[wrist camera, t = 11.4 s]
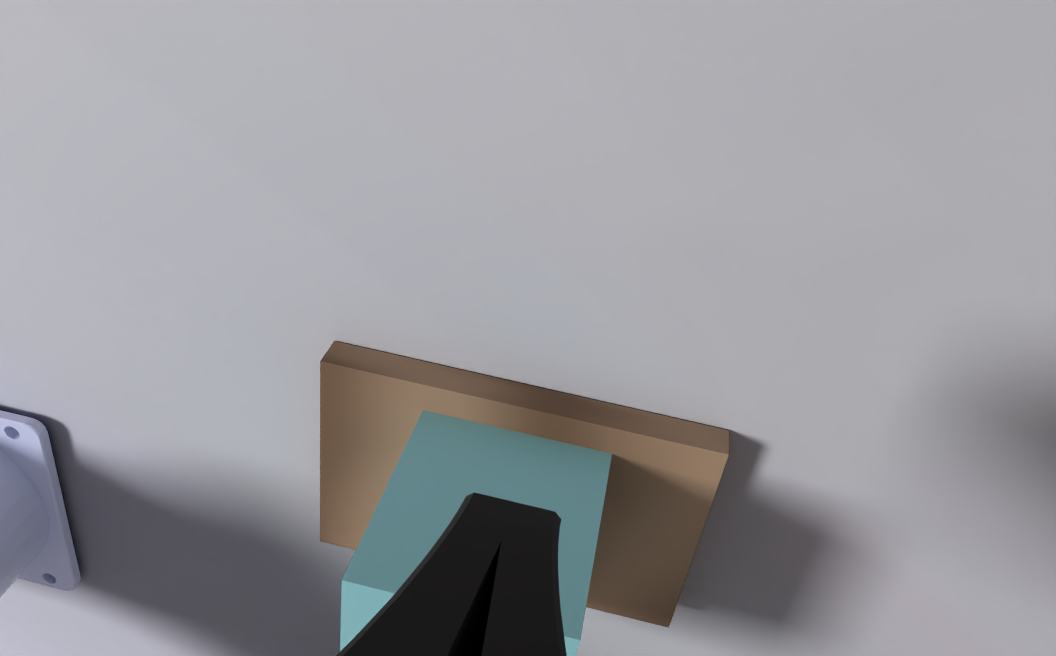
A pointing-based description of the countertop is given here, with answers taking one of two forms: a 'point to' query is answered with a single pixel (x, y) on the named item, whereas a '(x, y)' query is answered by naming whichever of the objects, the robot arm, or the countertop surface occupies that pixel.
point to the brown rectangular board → (628, 434)
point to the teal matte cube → (440, 488)
